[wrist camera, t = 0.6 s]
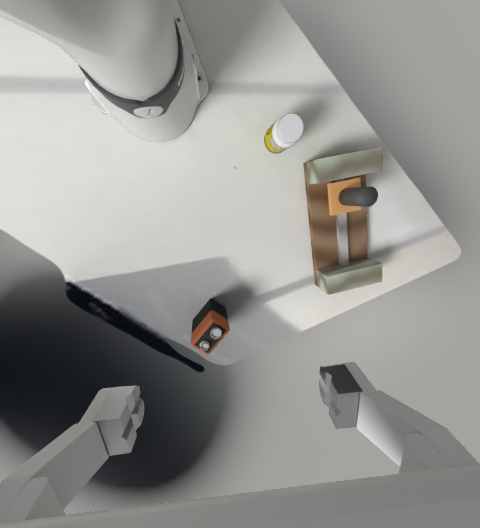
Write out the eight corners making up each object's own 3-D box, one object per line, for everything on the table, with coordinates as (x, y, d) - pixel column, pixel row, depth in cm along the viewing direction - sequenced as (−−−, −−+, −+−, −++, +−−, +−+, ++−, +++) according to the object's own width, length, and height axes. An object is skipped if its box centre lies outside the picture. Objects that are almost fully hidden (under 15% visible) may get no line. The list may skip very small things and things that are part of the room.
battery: (226, 307, 52) (231, 332, 42) (207, 330, 53) (208, 359, 43) (210, 297, 51) (212, 320, 41) (191, 320, 51) (189, 348, 42)
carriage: (324, 184, 46) (351, 181, 37) (352, 178, 46) (385, 174, 38) (326, 214, 47) (352, 218, 39) (353, 208, 48) (385, 211, 40)
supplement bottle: (276, 120, 43) (293, 102, 35) (292, 141, 44) (312, 128, 36) (258, 139, 43) (270, 126, 35) (274, 159, 45) (290, 151, 37)
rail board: (303, 163, 46) (317, 159, 40) (360, 152, 47) (381, 146, 41) (315, 284, 54) (328, 294, 48) (363, 272, 55) (382, 281, 49)
